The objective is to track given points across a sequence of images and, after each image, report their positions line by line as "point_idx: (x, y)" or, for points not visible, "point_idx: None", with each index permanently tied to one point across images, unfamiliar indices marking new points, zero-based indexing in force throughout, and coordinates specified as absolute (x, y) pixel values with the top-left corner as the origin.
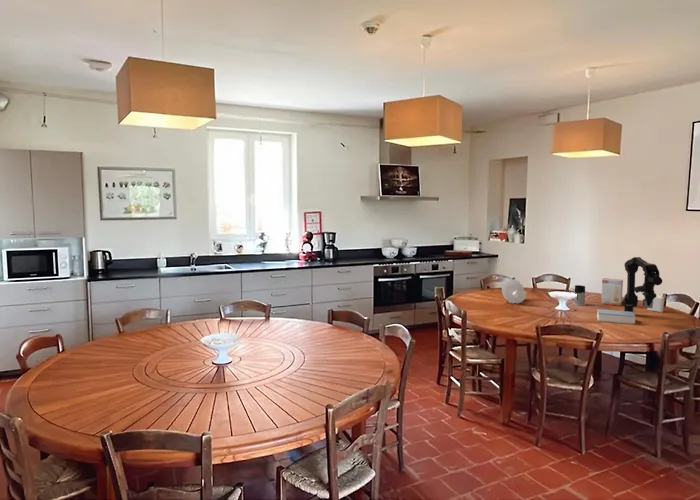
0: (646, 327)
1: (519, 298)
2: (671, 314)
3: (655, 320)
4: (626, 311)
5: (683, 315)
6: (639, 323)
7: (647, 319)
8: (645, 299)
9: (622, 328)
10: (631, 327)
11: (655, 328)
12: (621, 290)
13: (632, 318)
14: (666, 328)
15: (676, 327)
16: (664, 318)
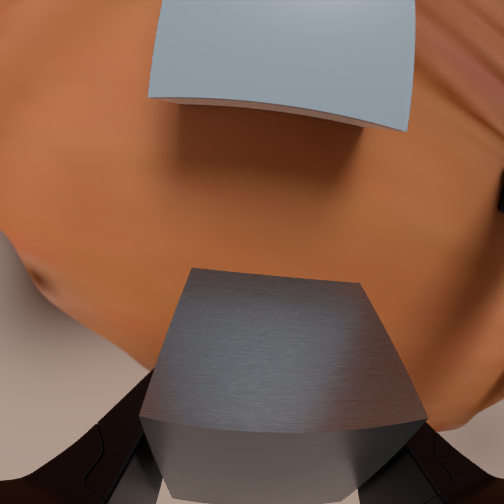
0: (101, 187)
1: None
2: (476, 390)
3: (381, 318)
4: (411, 59)
5: (453, 419)
6: (238, 157)
7: (408, 273)
8: (326, 458)
9: (32, 20)
10: (65, 70)
11: (100, 249)
12: None
13: None
14: (139, 322)
15: None
16: (425, 368)
